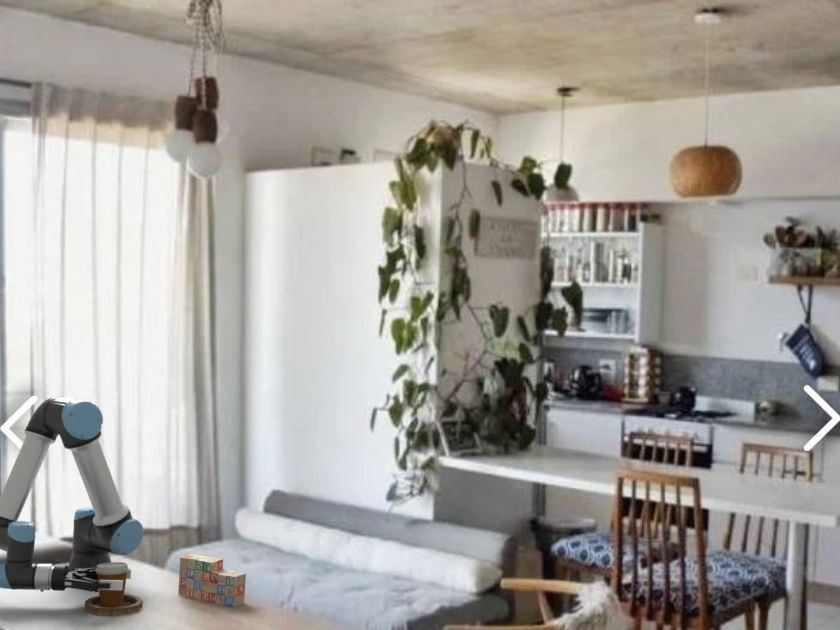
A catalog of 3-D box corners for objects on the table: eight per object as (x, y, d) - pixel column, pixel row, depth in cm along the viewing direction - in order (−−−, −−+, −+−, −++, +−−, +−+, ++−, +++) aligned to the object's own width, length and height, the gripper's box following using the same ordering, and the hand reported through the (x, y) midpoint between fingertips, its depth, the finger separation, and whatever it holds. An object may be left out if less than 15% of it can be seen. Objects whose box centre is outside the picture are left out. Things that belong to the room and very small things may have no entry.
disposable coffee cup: (118, 609, 304) (119, 568, 305) (89, 608, 306) (89, 567, 307) (134, 602, 313) (134, 562, 314) (104, 601, 315) (105, 561, 316)
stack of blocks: (244, 603, 322) (247, 563, 322) (232, 607, 316) (234, 567, 316) (190, 591, 332) (192, 553, 332) (177, 595, 326) (179, 556, 326)
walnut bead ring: (116, 597, 319) (116, 591, 319) (152, 607, 311) (153, 601, 311) (73, 608, 306) (74, 601, 306) (111, 618, 297) (111, 611, 297)
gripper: (62, 579, 319) (133, 581, 321) (41, 601, 294) (118, 603, 296) (63, 555, 319) (134, 557, 321) (42, 574, 294) (119, 577, 296)
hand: (126, 579), depth 309 cm, fingers open, 13 cm apart
